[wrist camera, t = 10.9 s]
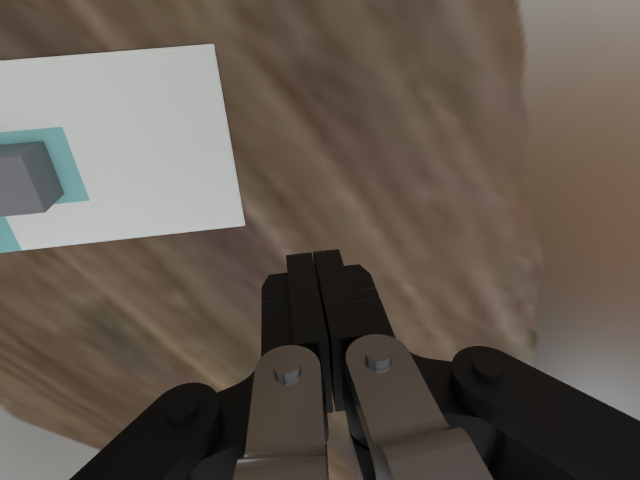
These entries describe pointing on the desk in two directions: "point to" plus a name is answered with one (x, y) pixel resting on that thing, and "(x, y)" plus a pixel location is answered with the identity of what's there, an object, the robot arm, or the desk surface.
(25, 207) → the t block
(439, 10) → the desk surface
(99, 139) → the runner mat
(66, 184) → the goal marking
